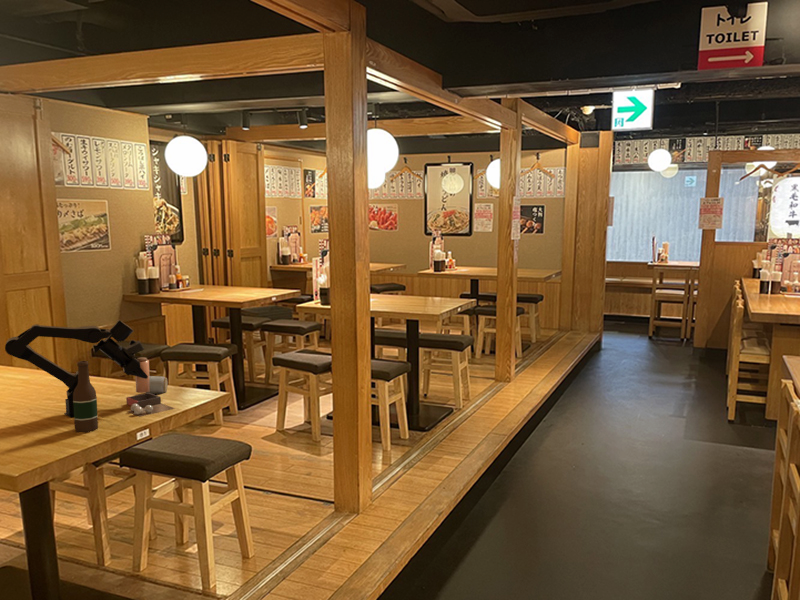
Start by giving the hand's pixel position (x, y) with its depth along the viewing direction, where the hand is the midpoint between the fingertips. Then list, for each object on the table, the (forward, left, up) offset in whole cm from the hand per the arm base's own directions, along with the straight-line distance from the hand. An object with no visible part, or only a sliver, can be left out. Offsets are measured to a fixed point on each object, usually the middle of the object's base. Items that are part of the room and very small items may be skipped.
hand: (146, 376), depth 245 cm
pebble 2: (-9, -11, -9) cm, 17 cm away
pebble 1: (-8, -7, -9) cm, 14 cm away
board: (-3, -9, -12) cm, 15 cm away
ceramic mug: (+12, +14, -12) cm, 22 cm away
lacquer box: (-1, 0, -12) cm, 12 cm away
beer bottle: (-28, -12, -12) cm, 33 cm away
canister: (-1, 0, -6) cm, 6 cm away
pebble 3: (-6, -12, -9) cm, 16 cm away
